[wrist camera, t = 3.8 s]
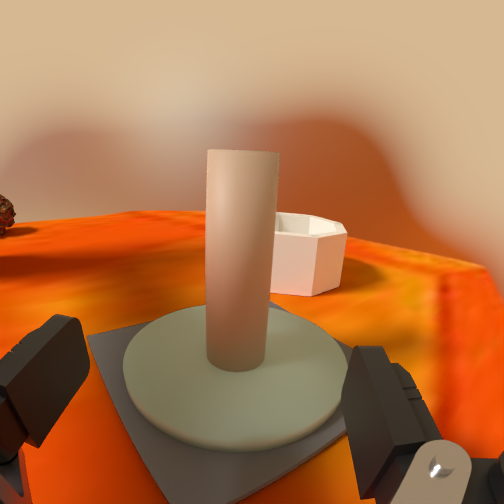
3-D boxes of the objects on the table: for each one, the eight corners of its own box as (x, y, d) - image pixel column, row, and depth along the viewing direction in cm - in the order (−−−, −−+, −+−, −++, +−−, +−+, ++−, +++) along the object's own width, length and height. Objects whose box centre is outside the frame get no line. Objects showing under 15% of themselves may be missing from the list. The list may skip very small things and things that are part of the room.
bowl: (223, 267, 38) (224, 217, 36) (291, 253, 44) (295, 210, 42) (286, 304, 29) (293, 242, 28) (356, 280, 36) (364, 229, 34)
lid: (102, 340, 21) (83, 153, 17) (255, 300, 29) (264, 151, 25) (192, 497, 10) (163, 148, 6) (386, 378, 18) (432, 171, 14)
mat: (88, 341, 21) (86, 336, 21) (257, 298, 30) (257, 293, 30) (185, 526, 9) (183, 522, 9) (403, 383, 18) (405, 378, 18)
